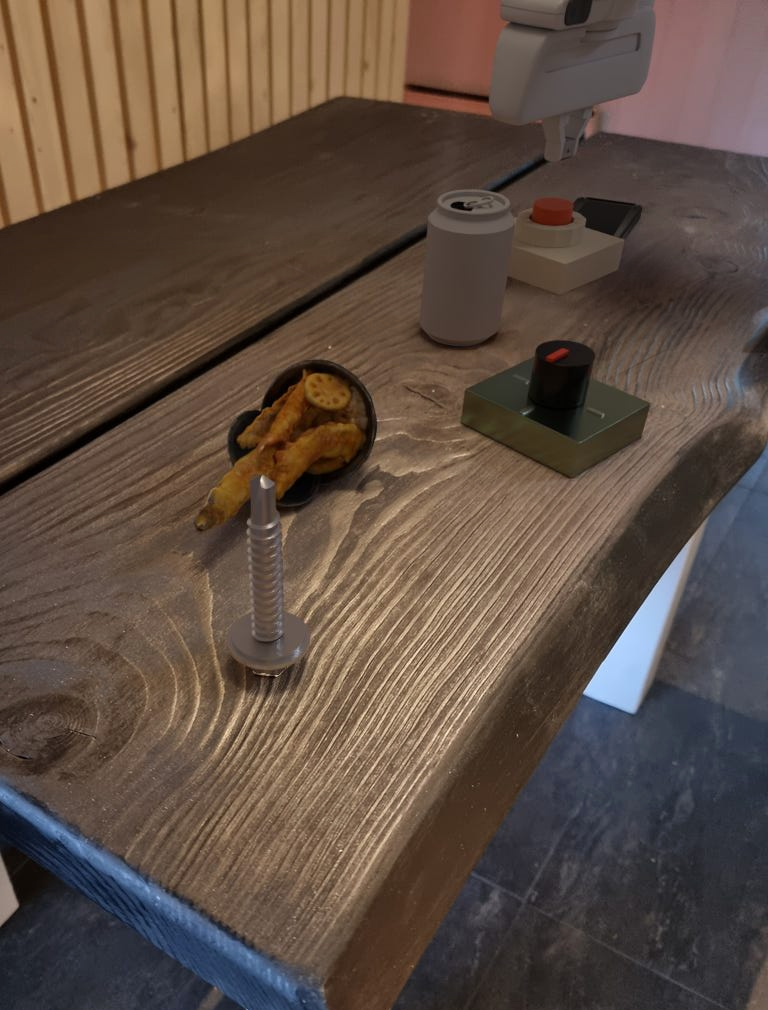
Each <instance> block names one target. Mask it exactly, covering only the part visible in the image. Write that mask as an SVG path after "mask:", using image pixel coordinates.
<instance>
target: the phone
mask: <svg viewBox="0 0 768 1010" xmlns="http://www.w3.org/2000/svg"><path fill="white" fill-rule="evenodd" d="M572 203H573V205H574V207H573V211H574V212H577V213H580V214H581V215H582V216H583V217H585V218H586V224H585V228H589V229H592V230H595V231H598V232H601V233H605V234H608V235H611V236H614V237H617V238H621V239H624V240H625V241H626V239H627V238H628V236H629V234H630V233H631V232H632V230H633V229H634V227H635V226H636V225H637V223H638V221H639V220H640V219H641V216H642V212H643V205H641V204H639V203H634V202H628V201H620V200H614V199H613V200H612V199H606V198H598V197H590V196H580V197H577V198H576V199H575V200H574V201H573V202H572Z"/></svg>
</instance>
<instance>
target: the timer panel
mask: <svg viewBox="0 0 768 1010" xmlns="http://www.w3.org/2000/svg"><path fill="white" fill-rule="evenodd" d="M533 362H534V356H532V357H530V358H528V359H526V360H524V361H521V362H519V363H517V364H515V365H513V366H511V367H509V368H506V369H505V370H502V371H500V372H498V373H495V374H494V375H492V376H490V377H487V378H485V379H483V380H481V381H479V382H477V383H474V384H472V385H471V386H469V387H466V388H465V389H464V393H463V394H464V395H463V400H462V401H463V403H462V409H461V416H460V417H461V418H460V419H461V420H460V423H461V424H463V425H465V426H467V427H468V428H470V429H472V430H475V431H477V432H478V433H481V434H483V435H485V436H487V437H489V438H491V439H493V440H495V441H497V442H498V443H501V444H503V445H504V446H506V447H509V448H511V449H513V450H515V451H516V452H519V453H521V454H522V455H525V456H527V457H528V458H530V459H532V460H535V461H536V462H539V463H541V464H542V465H544V466H547V467H548V468H550V469H552V470H555V471H556V472H558V473H561V474H562V475H564V476H566V477H569V478H570V479H572V478H574V477H576V476H577V475H579V474H581V473H583V472H584V471H586V470H587V469H588V470H589V468H591V467H593V466H594V465H596V464H599V463H600V462H601V461H603V460H605V459H606V458H608V457H610V456H611V455H613V454H615V453H617V452H618V451H620V450H622V449H624V448H626V447H627V446H628V445H631V444H632V443H634V442H636V441H637V440H639V439H640V438H642V436H643V433H644V430H645V426H646V423H647V419H648V415H649V412H650V408H651V404H652V403H651V402H650V401H647V400H645V399H643V398H640V397H638V396H635V395H633V394H630V393H628V392H626V391H623V390H621V389H619V388H616V387H614V386H611V385H609V384H607V383H604V382H602V381H599V380H598V379H595V378H593V377H592V376H591V378H590V383H589V387H588V392H587V396H586V400H585V401H584V403H583V404H581V405H579V406H577V407H573V408H567V409H558V408H550V407H546V406H543V405H540V404H538V403H536V402H535V401H533V400H532V399H531V398H530V397H529V394H528V390H529V384H530V379H531V373H532V367H533Z"/></svg>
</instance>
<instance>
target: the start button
mask: <svg viewBox="0 0 768 1010" xmlns="http://www.w3.org/2000/svg"><path fill="white" fill-rule="evenodd" d="M573 203H574V202H572V201H571V200H568V199H565V198H559V197H543V198H538V199H536V200H534V202H533V207H532V208H533V212H532V219H531V220H532V222H535V223H538V224H541V225H547V226H563V225H568V224H570V223H571V218H572V213H573V207H574V205H573Z"/></svg>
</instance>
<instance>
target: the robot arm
mask: <svg viewBox="0 0 768 1010" xmlns="http://www.w3.org/2000/svg"><path fill="white" fill-rule="evenodd" d="M654 6H655V0H501V1H500V8H499V15H500V19H501V20H502V21H504V22H508V23H507V24H506V25H505V26H504V27H503V28H502V30H501V32H500V34H499V36H498V39H497V42H496V45H495V49H494V56H493V61H492V62H493V63H492V69H491V76H490V85H489V95H488V109H489V111H490V113H491V116H492V118H493V120H494V121H497V122H501V123H504V124H508V125H511V126H518V127H522V126H525V125H528V124H532V123H536V122H539V121H541V126H542V129H543V135H544V139H545V146H544V152H543V158H544V160H545V161H547V162H551V163H559V162H561V161H565V160H568V159H571V158H573V157H575V156H576V155H577V152H578V148H579V147H578V146H579V142H580V138H582V136H583V133H584V132H585V130H586V128H587V126H588V124H589V123H590V120H591V119H592V115H593V110H594V106H597V105H601V104H605V103H608V102H611V101H615V100H619V99H624V98H626V97H629V96H633V95H637V94H639V93H640V92H641V91H642V89H643V87H644V85H645V84H646V82H647V79H648V75H649V71H650V68H651V67H650V66H651V60H652V54H653V49H654V41H655V35H656V25H657V23H656V22H657V17H656V12H655V9H654Z"/></svg>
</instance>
